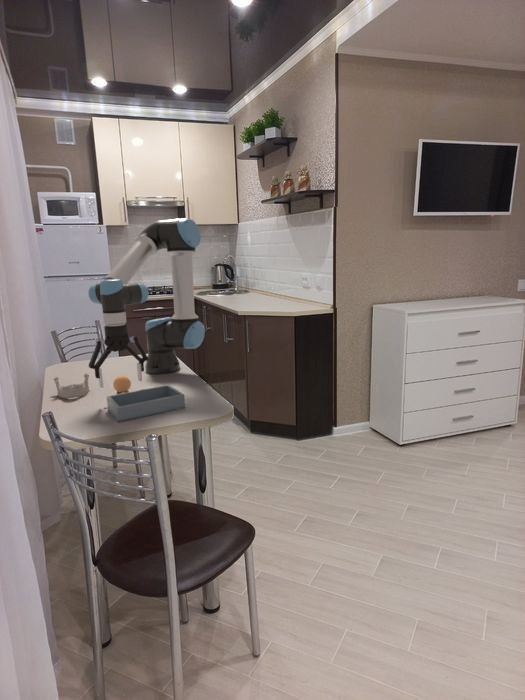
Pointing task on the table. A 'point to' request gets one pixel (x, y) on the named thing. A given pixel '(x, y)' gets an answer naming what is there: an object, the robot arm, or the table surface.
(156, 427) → the table surface
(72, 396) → the anatomical model
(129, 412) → the tray
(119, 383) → the ball
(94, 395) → the table surface
